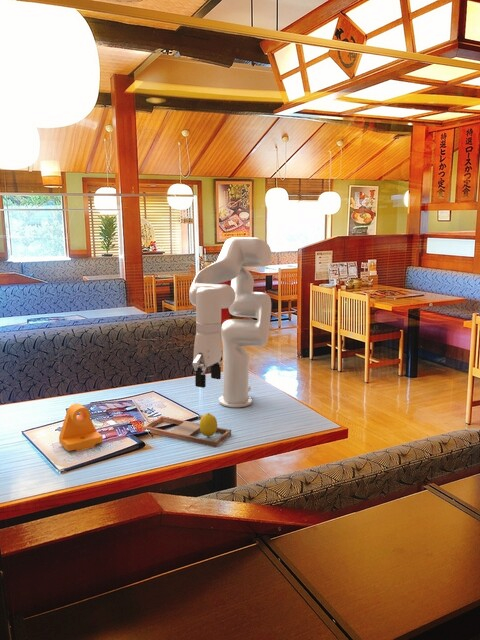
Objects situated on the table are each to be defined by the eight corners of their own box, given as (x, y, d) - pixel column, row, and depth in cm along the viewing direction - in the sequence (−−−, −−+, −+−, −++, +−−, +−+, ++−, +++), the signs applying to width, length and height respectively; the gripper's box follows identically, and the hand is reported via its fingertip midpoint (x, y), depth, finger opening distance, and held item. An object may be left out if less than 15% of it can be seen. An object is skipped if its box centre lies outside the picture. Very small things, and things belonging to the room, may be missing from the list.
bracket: (68, 453, 148) (66, 414, 146) (59, 445, 153) (57, 407, 151) (103, 444, 154) (102, 406, 152) (93, 436, 160) (92, 400, 158)
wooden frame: (161, 420, 174) (160, 415, 174) (231, 434, 163) (231, 430, 162) (142, 431, 164) (142, 426, 164) (215, 447, 153) (215, 442, 153)
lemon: (214, 441, 157) (214, 417, 156) (197, 440, 158) (197, 415, 157) (219, 434, 162) (219, 411, 161) (202, 433, 163) (202, 409, 162)
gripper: (211, 322, 163) (211, 374, 166) (182, 331, 148) (183, 388, 151) (232, 324, 160) (231, 377, 163) (205, 334, 144) (205, 392, 148)
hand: (208, 382), depth 157 cm, fingers open, 9 cm apart
